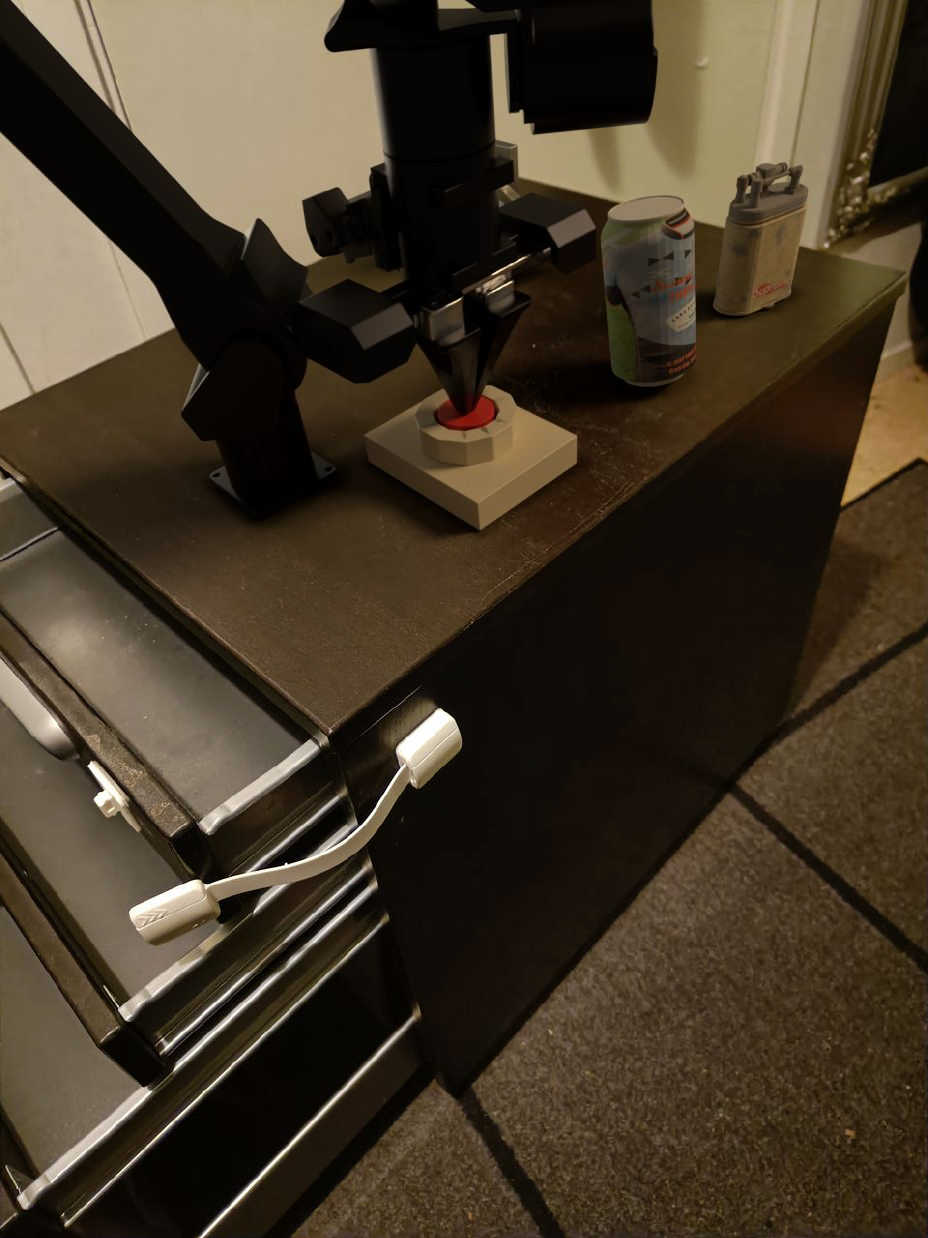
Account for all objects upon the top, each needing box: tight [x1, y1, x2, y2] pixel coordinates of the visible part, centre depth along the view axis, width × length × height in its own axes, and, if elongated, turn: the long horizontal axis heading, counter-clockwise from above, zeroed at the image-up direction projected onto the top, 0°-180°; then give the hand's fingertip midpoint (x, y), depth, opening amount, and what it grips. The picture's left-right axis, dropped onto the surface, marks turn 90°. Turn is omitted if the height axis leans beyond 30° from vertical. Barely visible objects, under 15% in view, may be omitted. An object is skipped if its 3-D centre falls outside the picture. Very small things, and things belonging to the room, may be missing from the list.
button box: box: [363, 384, 578, 531], centre depth 55 cm, size 11×9×4 cm
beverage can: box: [600, 194, 697, 388], centre depth 57 cm, size 6×7×12 cm
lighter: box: [712, 161, 809, 317], centre depth 64 cm, size 7×4×10 cm, turn 122°
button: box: [438, 397, 495, 431], centre depth 54 cm, size 4×4×2 cm
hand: (465, 410), depth 53 cm, fingers closed, pressing on button
